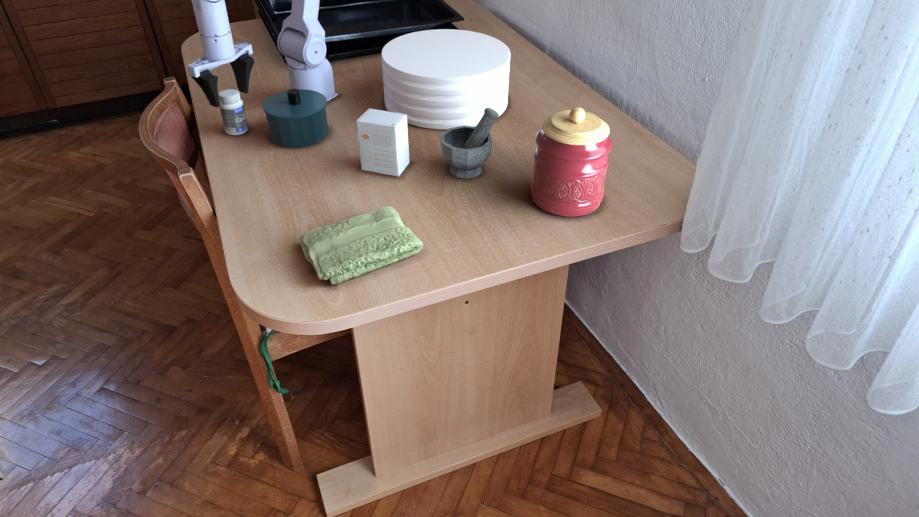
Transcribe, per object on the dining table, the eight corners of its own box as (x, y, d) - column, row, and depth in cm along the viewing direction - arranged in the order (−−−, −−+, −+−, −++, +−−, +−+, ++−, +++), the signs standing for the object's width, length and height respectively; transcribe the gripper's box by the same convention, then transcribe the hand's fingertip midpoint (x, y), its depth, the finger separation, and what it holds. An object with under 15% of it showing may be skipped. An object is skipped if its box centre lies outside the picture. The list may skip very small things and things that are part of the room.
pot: (284, 118, 142) (279, 90, 138) (336, 124, 140) (333, 95, 136) (260, 144, 133) (255, 114, 129) (315, 150, 131) (311, 121, 127)
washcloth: (294, 244, 107) (292, 228, 105) (393, 215, 114) (392, 200, 112) (322, 291, 98) (320, 275, 96) (427, 256, 105) (427, 240, 103)
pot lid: (279, 91, 139) (276, 75, 137) (336, 97, 137) (334, 81, 135) (252, 118, 129) (248, 101, 127) (313, 125, 127) (311, 108, 125)
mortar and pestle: (450, 187, 121) (451, 128, 114) (433, 163, 128) (432, 106, 120) (505, 175, 125) (509, 117, 117) (485, 152, 131) (488, 96, 124)
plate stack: (482, 70, 164) (484, 24, 156) (526, 119, 143) (530, 68, 136) (372, 83, 156) (369, 36, 149) (402, 137, 136) (399, 85, 129)
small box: (410, 163, 128) (408, 113, 121) (398, 177, 124) (396, 127, 117) (372, 156, 130) (368, 107, 123) (360, 170, 125) (355, 119, 119)
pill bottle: (242, 136, 135) (234, 98, 130) (221, 134, 136) (212, 96, 131) (252, 126, 139) (244, 89, 134) (231, 124, 140) (223, 86, 134)
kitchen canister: (584, 227, 112) (599, 134, 101) (517, 203, 117) (524, 113, 106) (613, 192, 120) (629, 103, 109) (549, 172, 126) (559, 85, 115)
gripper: (229, 17, 131) (242, 82, 139) (169, 39, 121) (187, 107, 130) (254, 24, 128) (266, 89, 137) (195, 47, 118) (212, 116, 127)
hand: (229, 98), depth 133 cm, fingers open, 7 cm apart
